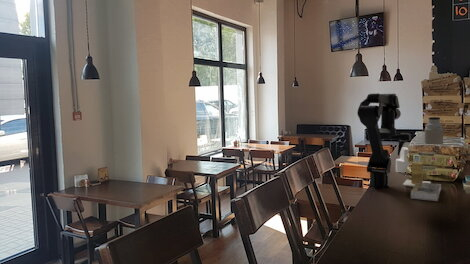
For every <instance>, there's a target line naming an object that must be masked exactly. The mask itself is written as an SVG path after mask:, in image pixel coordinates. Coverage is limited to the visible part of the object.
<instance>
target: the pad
mask: <svg viewBox="0 0 470 264" xmlns="http://www.w3.org/2000/svg"><path fill="white" fill-rule="evenodd" d="M423 183H432V182H431V181H427V180H423ZM402 186H405V187H414V186H415V184H412V183H411V179H405V181H404V182H403V183H402Z"/></svg>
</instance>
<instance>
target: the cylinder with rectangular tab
mask: <svg viewBox="0 0 470 264" xmlns="http://www.w3.org/2000/svg"><path fill="white" fill-rule="evenodd" d="M407 153H408V147H407V146H402V149H401V152H400V154H399V158H396V159H395V172H396V173H398V172H401V173H400V174H406V173H405V172H406V169H407V166H408V164H409V162H408V159H407Z"/></svg>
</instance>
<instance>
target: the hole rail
mask: <svg viewBox="0 0 470 264" xmlns="http://www.w3.org/2000/svg"><path fill="white" fill-rule="evenodd" d="M441 190H442V184H441V183H432V182H431V183H423V182H416V184H415V186H414V187H413V188H412V189H411V190H410V199H412V200H413V199H415V200H422V201H423V200H424V201H433V202H438V201H439V198H440V194H441Z"/></svg>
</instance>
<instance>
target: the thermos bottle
mask: <svg viewBox="0 0 470 264" xmlns="http://www.w3.org/2000/svg"><path fill="white" fill-rule="evenodd" d="M440 119H441V117H439V116H438V117H437V116H433V117H432V116H431V117H428V122H427V123H426V125H425V128H424V143H426V144H443V145H444V128H442V127H443V124H442V123H441V121H440Z"/></svg>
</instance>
